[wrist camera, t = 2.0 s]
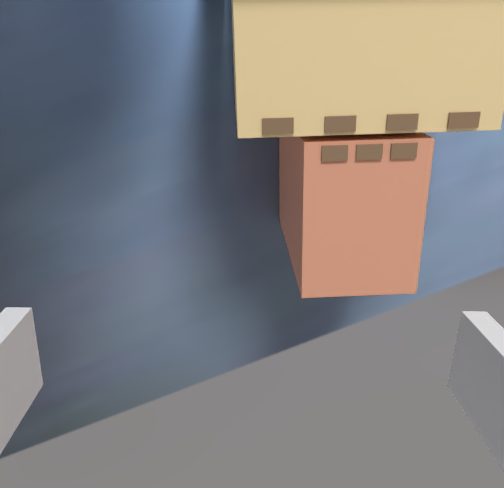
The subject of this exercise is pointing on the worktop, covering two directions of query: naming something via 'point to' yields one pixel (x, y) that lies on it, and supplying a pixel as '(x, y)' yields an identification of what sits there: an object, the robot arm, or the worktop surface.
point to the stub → (354, 211)
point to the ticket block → (367, 66)
